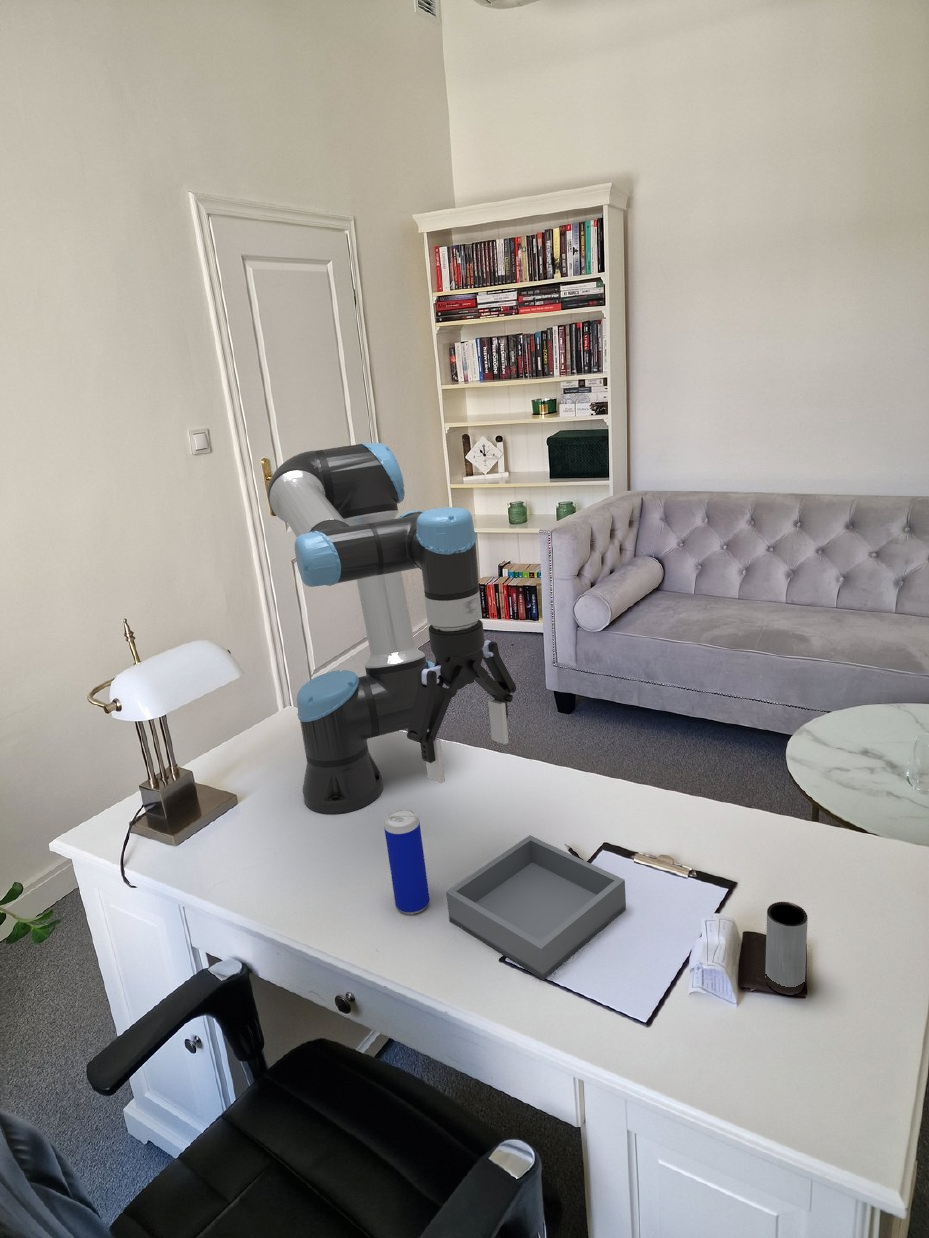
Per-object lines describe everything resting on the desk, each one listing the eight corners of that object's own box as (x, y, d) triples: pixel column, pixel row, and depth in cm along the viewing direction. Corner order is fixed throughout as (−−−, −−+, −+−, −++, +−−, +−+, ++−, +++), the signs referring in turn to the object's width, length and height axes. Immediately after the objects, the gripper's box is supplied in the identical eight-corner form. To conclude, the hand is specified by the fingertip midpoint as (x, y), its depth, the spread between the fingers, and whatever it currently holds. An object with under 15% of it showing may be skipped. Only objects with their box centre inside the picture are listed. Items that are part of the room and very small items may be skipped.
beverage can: (434, 895, 123) (423, 809, 118) (423, 917, 118) (411, 829, 113) (402, 892, 124) (390, 807, 120) (391, 914, 120) (377, 826, 115)
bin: (449, 920, 117) (445, 891, 115) (532, 862, 128) (529, 834, 127) (543, 980, 104) (541, 948, 103) (626, 909, 116) (624, 879, 114)
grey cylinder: (758, 984, 100) (760, 915, 97) (775, 963, 103) (777, 896, 100) (794, 1002, 97) (797, 931, 94) (811, 980, 100) (814, 911, 97)
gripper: (407, 656, 100) (425, 805, 107) (533, 600, 117) (542, 732, 123) (368, 645, 105) (388, 788, 112) (494, 593, 122) (505, 721, 128)
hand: (469, 759), depth 118 cm, fingers open, 13 cm apart
